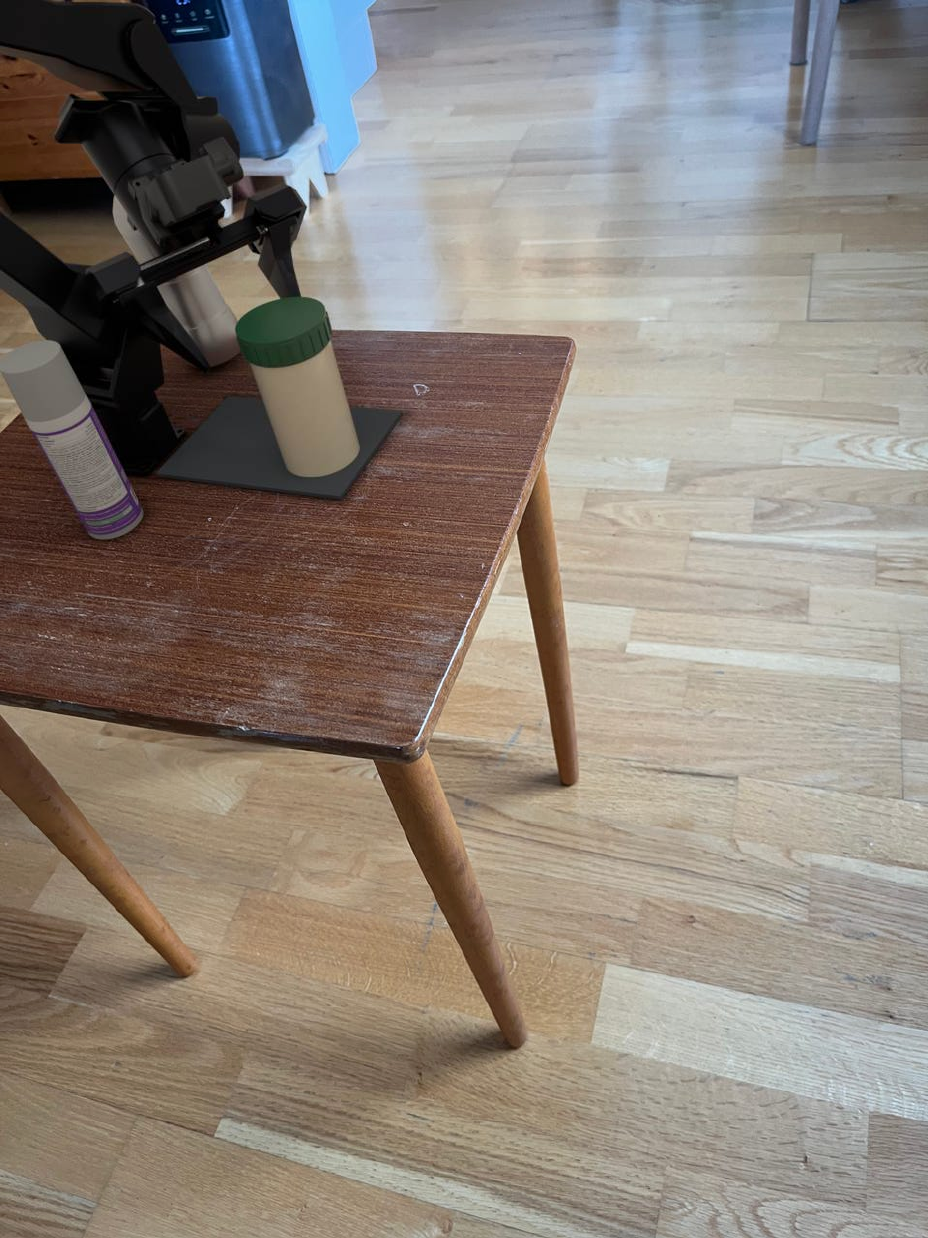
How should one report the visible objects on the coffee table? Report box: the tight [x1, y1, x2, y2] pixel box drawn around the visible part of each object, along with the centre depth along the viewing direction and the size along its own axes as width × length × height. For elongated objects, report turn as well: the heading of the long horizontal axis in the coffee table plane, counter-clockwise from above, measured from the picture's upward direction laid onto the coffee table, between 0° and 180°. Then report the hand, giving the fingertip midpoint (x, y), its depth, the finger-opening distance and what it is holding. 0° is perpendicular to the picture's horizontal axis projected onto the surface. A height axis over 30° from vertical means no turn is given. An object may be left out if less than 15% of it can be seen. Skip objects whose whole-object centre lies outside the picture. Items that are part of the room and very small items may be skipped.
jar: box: [249, 340, 360, 477], centre depth 75 cm, size 6×6×12 cm
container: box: [0, 339, 144, 540], centre depth 72 cm, size 5×5×15 cm
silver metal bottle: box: [112, 194, 241, 369], centre depth 88 cm, size 6×7×20 cm
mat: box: [155, 395, 404, 501], centre depth 82 cm, size 18×12×1 cm, turn 68°
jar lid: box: [235, 296, 333, 367], centre depth 71 cm, size 7×7×2 cm
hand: (257, 345), depth 77 cm, fingers open, 9 cm apart
